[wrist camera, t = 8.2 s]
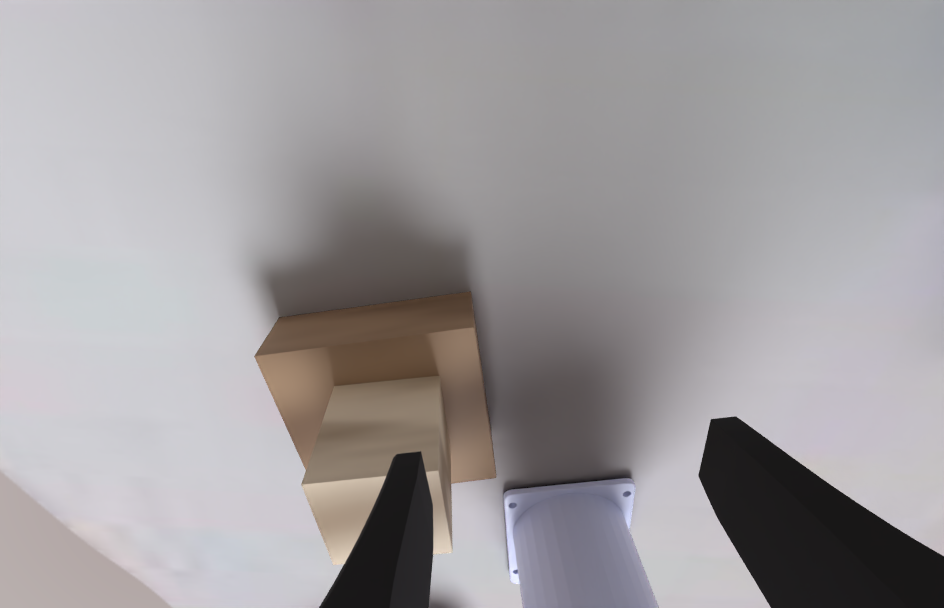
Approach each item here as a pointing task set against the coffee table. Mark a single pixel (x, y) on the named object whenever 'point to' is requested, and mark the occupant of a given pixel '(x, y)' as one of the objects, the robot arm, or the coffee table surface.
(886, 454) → the coffee table surface
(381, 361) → the tan flat block
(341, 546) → the maple cube
